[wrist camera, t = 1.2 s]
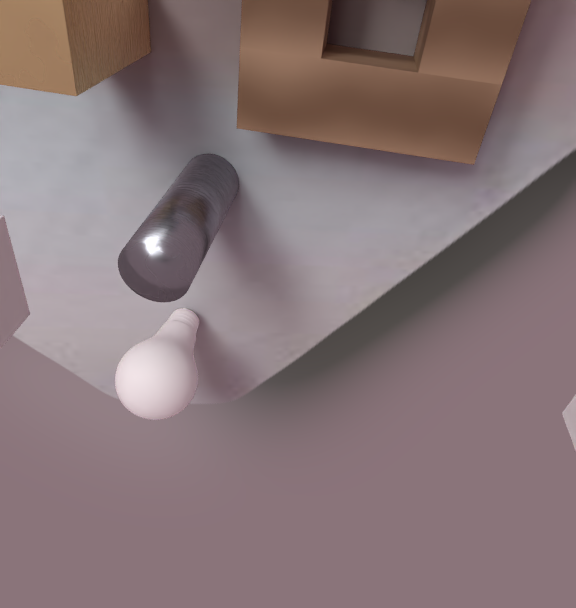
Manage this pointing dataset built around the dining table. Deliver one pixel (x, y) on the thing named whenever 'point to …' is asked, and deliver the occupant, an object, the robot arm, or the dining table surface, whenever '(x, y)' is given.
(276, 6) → the socket block
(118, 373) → the lightbulb
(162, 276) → the cylinder
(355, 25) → the dining table surface
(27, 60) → the square bit
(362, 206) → the dining table surface
